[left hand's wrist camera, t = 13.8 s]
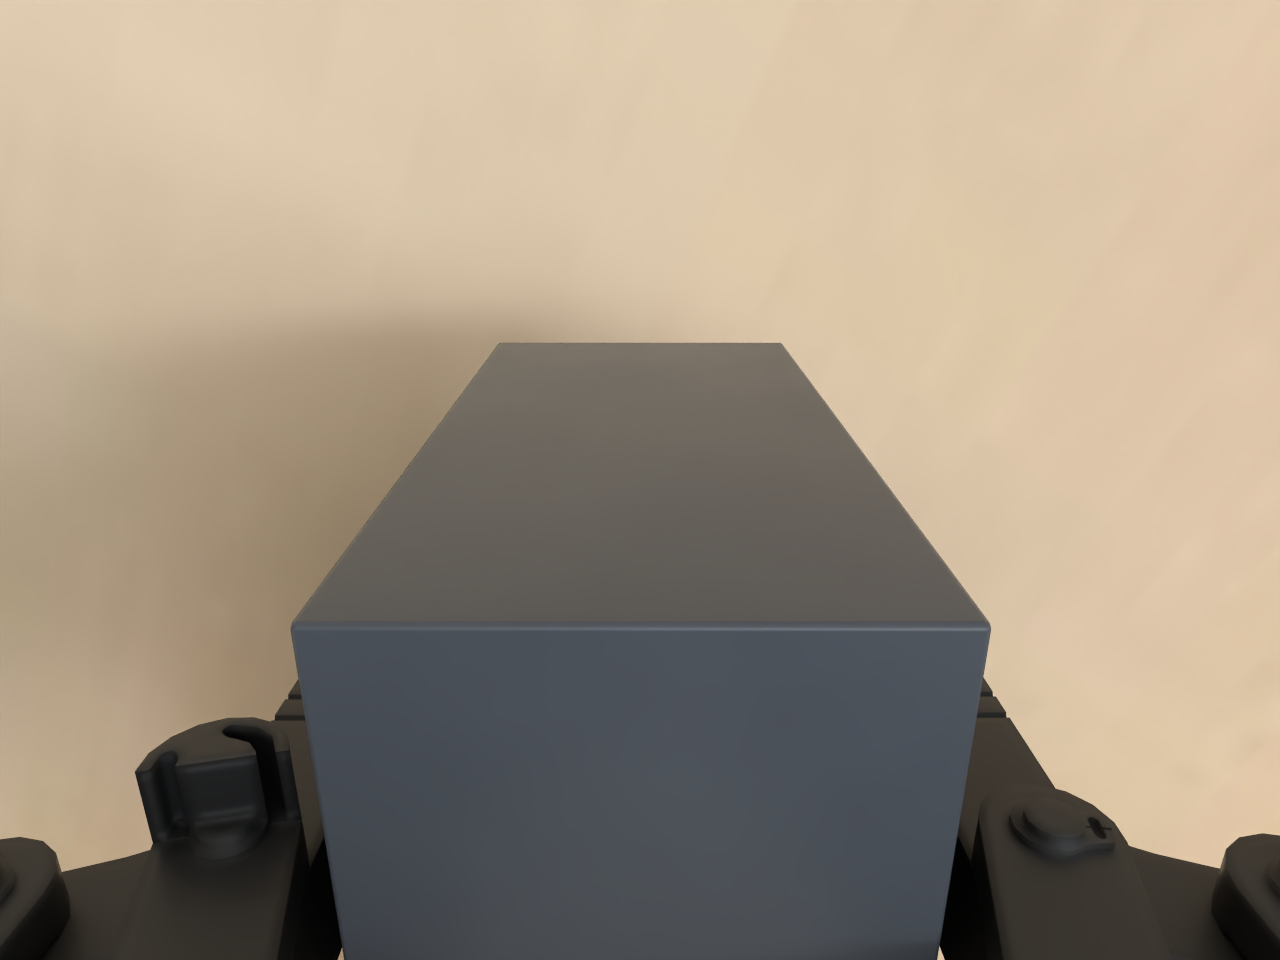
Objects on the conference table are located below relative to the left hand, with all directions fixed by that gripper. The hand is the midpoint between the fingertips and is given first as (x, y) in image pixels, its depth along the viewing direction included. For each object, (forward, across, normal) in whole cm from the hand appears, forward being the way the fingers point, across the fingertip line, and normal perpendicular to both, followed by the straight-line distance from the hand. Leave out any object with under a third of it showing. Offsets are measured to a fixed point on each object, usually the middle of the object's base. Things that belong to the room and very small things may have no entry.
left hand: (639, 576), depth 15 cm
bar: (+1, 0, -7) cm, 7 cm away
